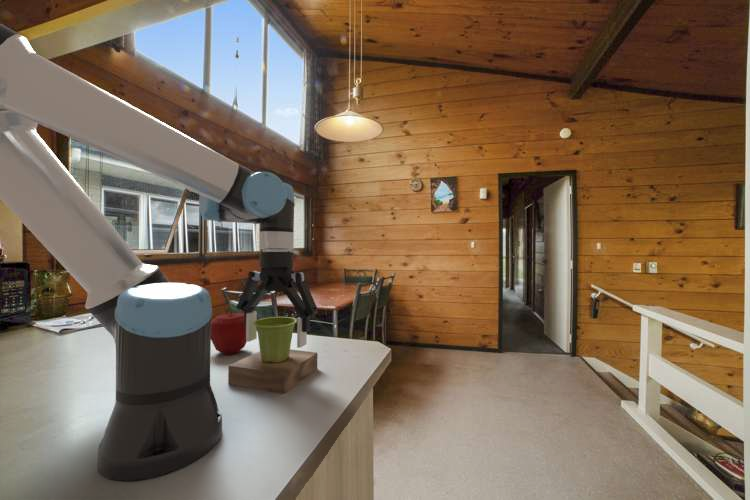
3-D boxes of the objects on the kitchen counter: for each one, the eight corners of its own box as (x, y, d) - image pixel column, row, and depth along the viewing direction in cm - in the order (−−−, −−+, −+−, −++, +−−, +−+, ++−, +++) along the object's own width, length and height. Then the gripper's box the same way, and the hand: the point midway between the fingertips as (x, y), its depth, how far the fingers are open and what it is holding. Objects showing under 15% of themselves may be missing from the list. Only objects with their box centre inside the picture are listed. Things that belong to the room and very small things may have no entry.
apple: (238, 344, 96) (238, 306, 96) (258, 351, 90) (259, 310, 90) (201, 353, 87) (201, 311, 87) (221, 362, 81) (221, 316, 81)
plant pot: (304, 358, 73) (304, 321, 73) (266, 369, 66) (266, 328, 66) (282, 349, 79) (283, 315, 79) (246, 358, 72) (246, 321, 72)
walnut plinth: (284, 393, 64) (284, 373, 64) (228, 384, 68) (228, 365, 68) (317, 368, 77) (317, 352, 77) (268, 362, 81) (268, 346, 81)
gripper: (333, 251, 72) (332, 343, 72) (243, 250, 80) (242, 333, 80) (317, 251, 65) (316, 353, 65) (220, 250, 73) (220, 342, 73)
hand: (275, 343), depth 72 cm, fingers open, 13 cm apart
